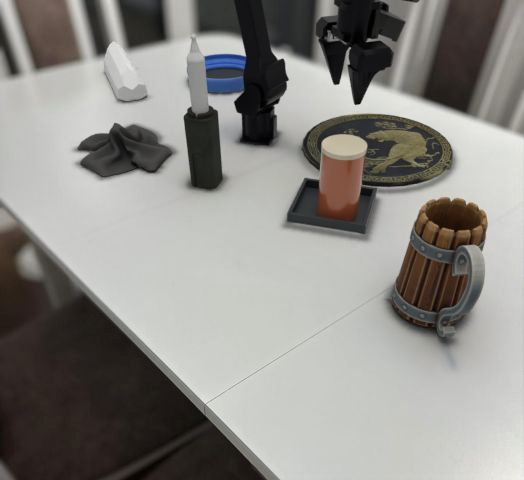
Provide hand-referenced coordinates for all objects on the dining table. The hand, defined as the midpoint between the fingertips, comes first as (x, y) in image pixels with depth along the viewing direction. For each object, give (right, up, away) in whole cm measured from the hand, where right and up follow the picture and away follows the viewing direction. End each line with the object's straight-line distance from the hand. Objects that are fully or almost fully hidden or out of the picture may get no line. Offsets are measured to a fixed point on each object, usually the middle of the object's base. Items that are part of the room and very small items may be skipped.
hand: (346, 94), depth 95 cm
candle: (-26, -14, +6) cm, 30 cm away
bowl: (-25, +23, +40) cm, 52 cm away
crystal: (-50, +21, +39) cm, 66 cm away
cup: (-2, -22, -4) cm, 22 cm away
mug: (+9, -41, -20) cm, 47 cm away
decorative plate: (+8, -6, +13) cm, 16 cm away
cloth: (-44, -5, +15) cm, 46 cm away
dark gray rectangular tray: (-3, -22, -2) cm, 22 cm away
